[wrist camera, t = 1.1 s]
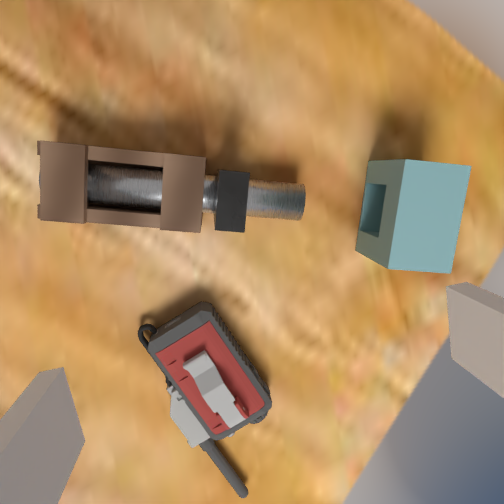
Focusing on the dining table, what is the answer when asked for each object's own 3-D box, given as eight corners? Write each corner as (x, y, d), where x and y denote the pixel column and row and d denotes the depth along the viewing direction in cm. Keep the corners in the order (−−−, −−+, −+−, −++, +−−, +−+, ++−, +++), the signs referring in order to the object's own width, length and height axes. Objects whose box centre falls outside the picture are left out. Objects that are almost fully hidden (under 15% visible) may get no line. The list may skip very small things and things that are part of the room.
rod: (54, 203, 34) (10, 213, 26) (54, 153, 33) (9, 149, 26) (294, 224, 36) (316, 238, 29) (299, 177, 35) (323, 180, 28)
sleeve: (56, 212, 34) (33, 219, 30) (56, 143, 33) (32, 139, 29) (201, 224, 36) (200, 233, 31) (206, 158, 35) (205, 157, 30)
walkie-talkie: (119, 335, 37) (235, 491, 42) (108, 357, 33) (238, 528, 37) (202, 284, 37) (309, 446, 42) (201, 300, 33) (321, 478, 37)
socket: (355, 250, 38) (387, 268, 31) (368, 160, 36) (405, 159, 29) (407, 254, 38) (450, 273, 31) (422, 166, 37) (471, 166, 30)
